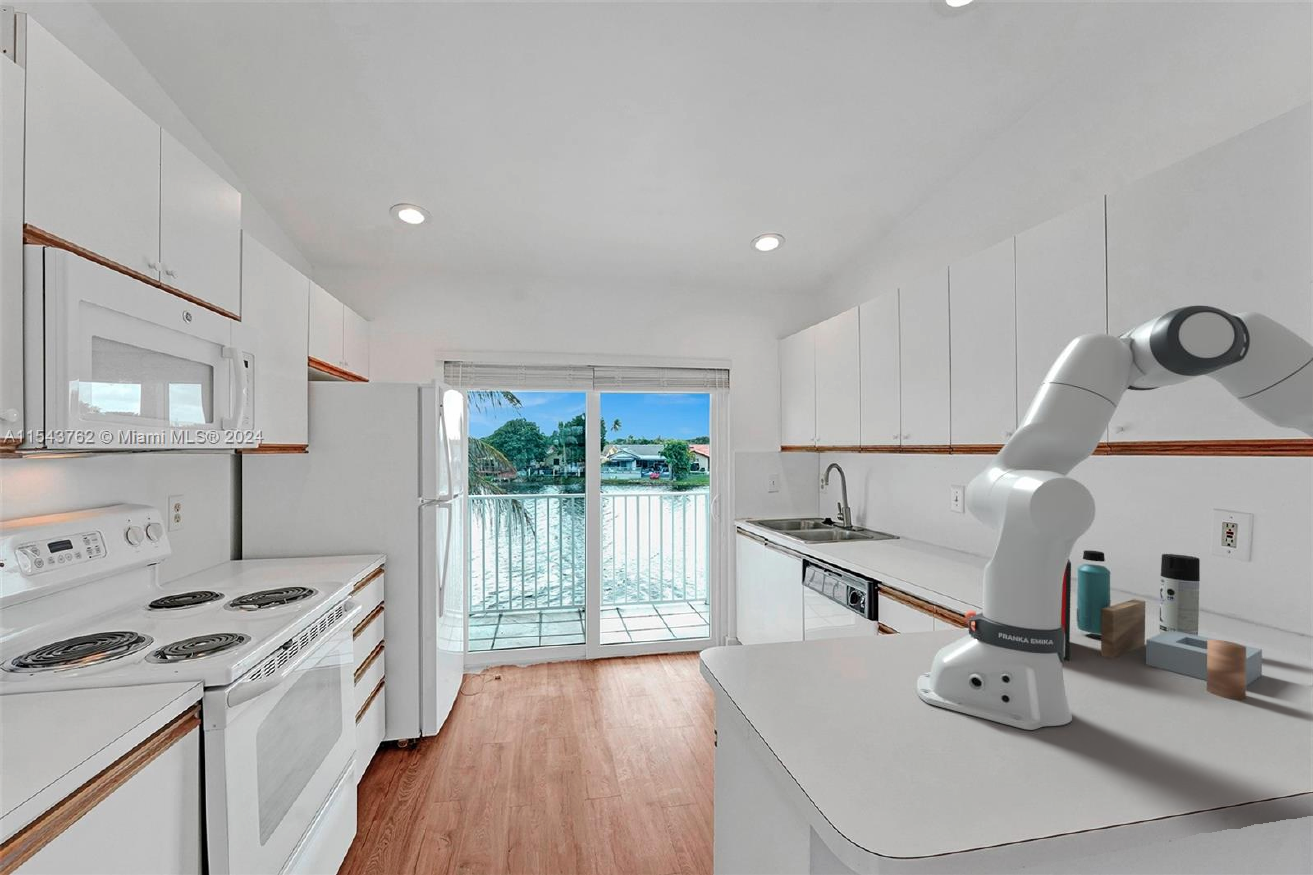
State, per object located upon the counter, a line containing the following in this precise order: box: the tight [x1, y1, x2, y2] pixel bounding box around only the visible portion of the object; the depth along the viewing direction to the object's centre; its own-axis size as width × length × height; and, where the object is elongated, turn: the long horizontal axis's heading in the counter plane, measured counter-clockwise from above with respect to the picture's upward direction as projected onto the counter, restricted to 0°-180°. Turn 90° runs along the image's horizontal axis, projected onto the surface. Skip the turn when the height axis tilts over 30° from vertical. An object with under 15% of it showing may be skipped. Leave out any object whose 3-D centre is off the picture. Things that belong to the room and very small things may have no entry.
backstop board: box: [1100, 598, 1146, 660], centre depth 129 cm, size 2×18×10 cm, turn 124°
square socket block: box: [1145, 630, 1263, 687], centre depth 118 cm, size 14×14×5 cm
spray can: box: [1158, 553, 1201, 636], centre depth 135 cm, size 7×7×20 cm
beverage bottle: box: [1076, 549, 1112, 635], centre depth 139 cm, size 6×7×20 cm
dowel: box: [1206, 639, 1247, 701], centre depth 106 cm, size 5×5×9 cm
